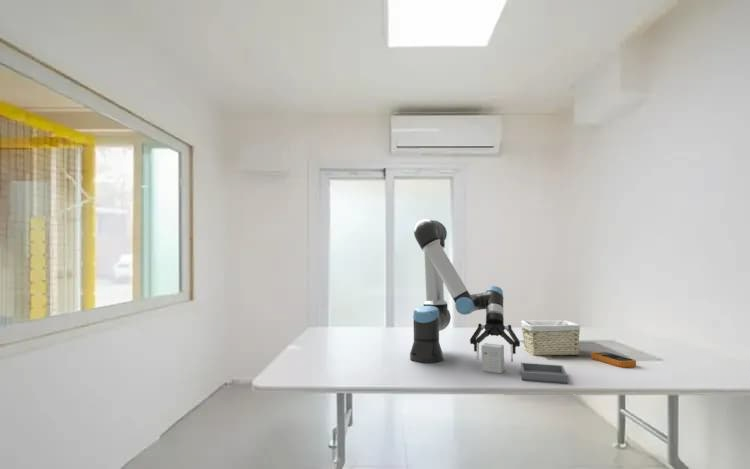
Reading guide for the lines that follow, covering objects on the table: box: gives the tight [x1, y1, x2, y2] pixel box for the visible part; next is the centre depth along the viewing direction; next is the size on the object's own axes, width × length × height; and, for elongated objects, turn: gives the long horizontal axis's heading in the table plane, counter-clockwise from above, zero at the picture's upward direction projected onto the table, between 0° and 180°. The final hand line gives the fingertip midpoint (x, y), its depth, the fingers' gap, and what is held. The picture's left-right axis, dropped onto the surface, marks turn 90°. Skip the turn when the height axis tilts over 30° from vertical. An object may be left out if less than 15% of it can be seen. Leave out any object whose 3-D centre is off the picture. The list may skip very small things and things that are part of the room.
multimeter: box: [590, 351, 637, 369], centre depth 191 cm, size 9×18×3 cm, turn 17°
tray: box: [520, 362, 569, 385], centre depth 169 cm, size 16×15×3 cm
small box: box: [480, 342, 505, 374], centre depth 178 cm, size 8×6×10 cm
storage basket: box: [520, 319, 581, 356], centre depth 212 cm, size 24×16×15 cm
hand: (494, 359), depth 177 cm, fingers open, 13 cm apart
